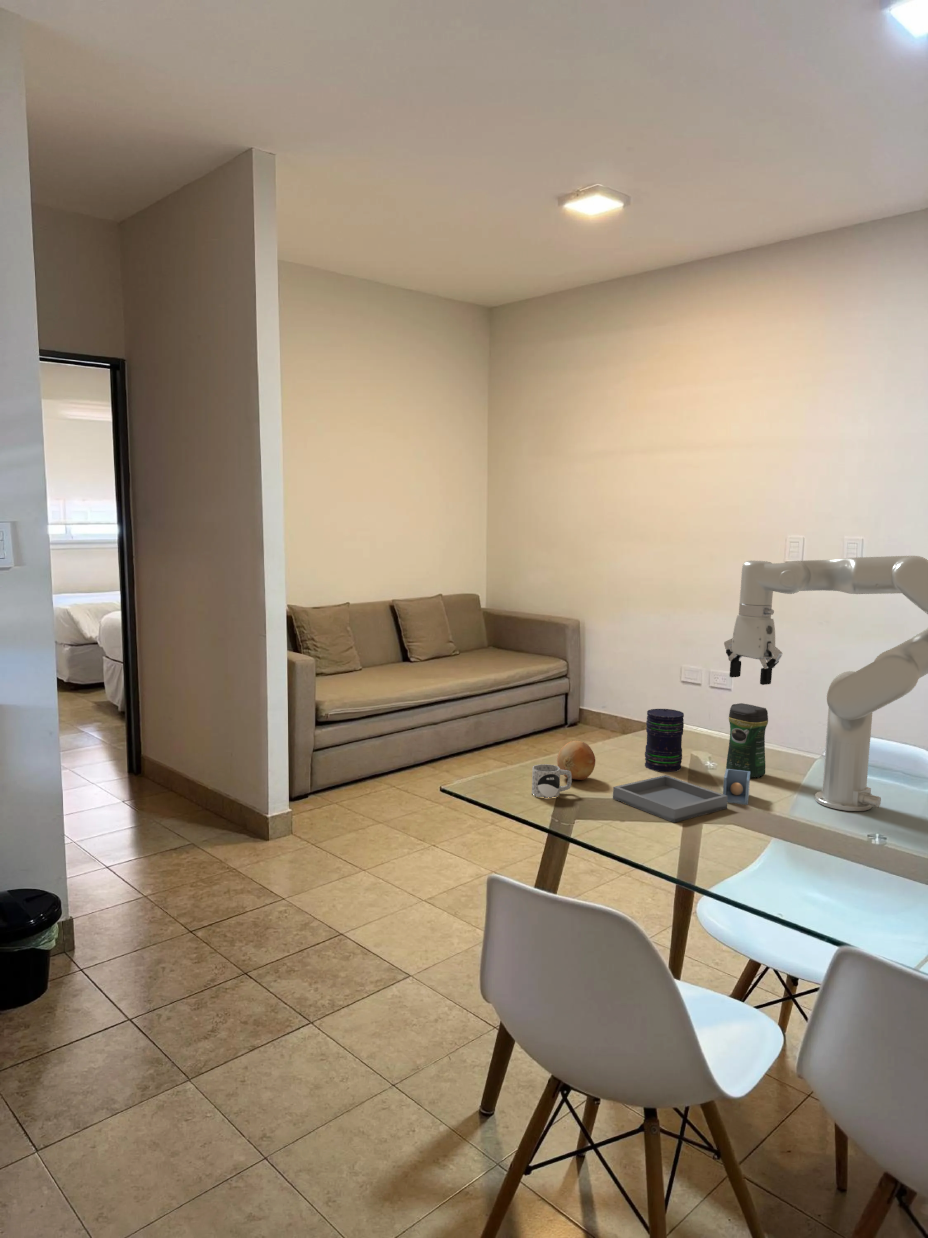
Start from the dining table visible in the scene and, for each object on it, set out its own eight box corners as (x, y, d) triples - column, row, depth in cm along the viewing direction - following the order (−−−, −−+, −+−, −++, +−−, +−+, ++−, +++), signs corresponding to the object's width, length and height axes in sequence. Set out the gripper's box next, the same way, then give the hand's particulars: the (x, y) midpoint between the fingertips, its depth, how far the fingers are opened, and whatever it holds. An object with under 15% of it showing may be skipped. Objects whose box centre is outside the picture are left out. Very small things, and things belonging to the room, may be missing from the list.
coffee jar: (770, 775, 229) (774, 706, 226) (751, 781, 224) (756, 710, 222) (739, 767, 236) (742, 699, 234) (720, 771, 232) (724, 703, 229)
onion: (552, 782, 219) (553, 744, 218) (561, 772, 229) (562, 734, 228) (590, 787, 216) (592, 748, 215) (597, 776, 226) (599, 738, 225)
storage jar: (682, 773, 229) (685, 718, 228) (644, 770, 231) (646, 715, 230) (680, 763, 239) (683, 709, 237) (644, 760, 241) (646, 707, 239)
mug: (537, 800, 206) (538, 773, 205) (527, 791, 212) (528, 765, 211) (576, 797, 208) (577, 770, 208) (565, 788, 215) (566, 762, 214)
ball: (745, 795, 210) (746, 783, 210) (737, 797, 209) (738, 784, 208) (735, 793, 213) (735, 781, 213) (727, 794, 211) (727, 782, 211)
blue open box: (724, 792, 214) (726, 768, 214) (748, 795, 213) (750, 771, 212) (722, 802, 207) (723, 777, 206) (747, 805, 205) (749, 780, 204)
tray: (726, 808, 202) (727, 796, 202) (674, 822, 192) (674, 809, 192) (664, 786, 218) (665, 775, 217) (612, 799, 207) (613, 787, 207)
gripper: (794, 615, 207) (788, 686, 209) (738, 607, 221) (734, 673, 224) (772, 616, 203) (766, 688, 205) (717, 607, 218) (712, 675, 220)
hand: (749, 680), depth 214 cm, fingers open, 9 cm apart
